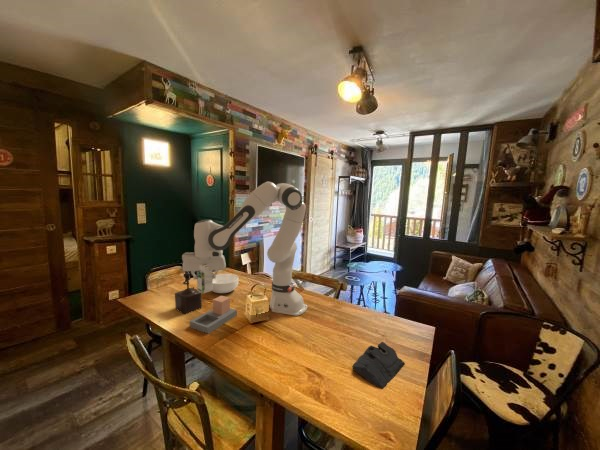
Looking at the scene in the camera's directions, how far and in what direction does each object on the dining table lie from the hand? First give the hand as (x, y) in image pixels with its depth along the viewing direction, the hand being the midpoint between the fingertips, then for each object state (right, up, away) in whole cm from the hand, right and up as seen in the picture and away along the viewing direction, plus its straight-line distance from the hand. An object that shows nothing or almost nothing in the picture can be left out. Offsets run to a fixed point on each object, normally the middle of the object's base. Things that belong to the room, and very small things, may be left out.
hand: (204, 278), depth 124 cm
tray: (+4, -22, +1) cm, 22 cm away
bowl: (-3, -17, +40) cm, 44 cm away
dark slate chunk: (+79, -29, -27) cm, 88 cm away
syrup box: (0, -7, +1) cm, 7 cm away
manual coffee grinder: (-16, -20, +16) cm, 30 cm away
